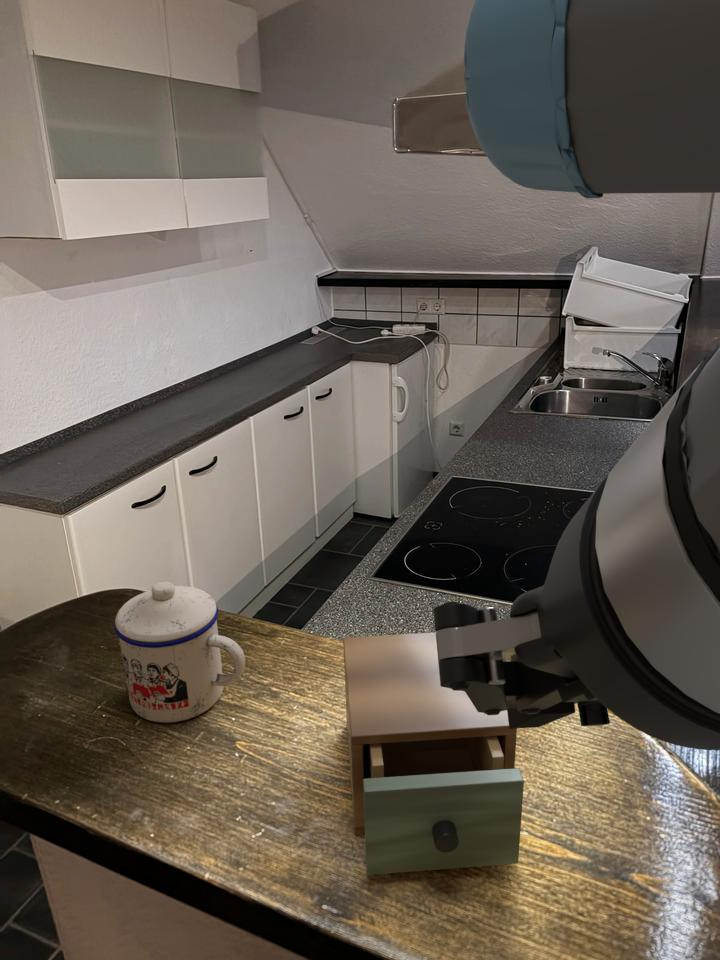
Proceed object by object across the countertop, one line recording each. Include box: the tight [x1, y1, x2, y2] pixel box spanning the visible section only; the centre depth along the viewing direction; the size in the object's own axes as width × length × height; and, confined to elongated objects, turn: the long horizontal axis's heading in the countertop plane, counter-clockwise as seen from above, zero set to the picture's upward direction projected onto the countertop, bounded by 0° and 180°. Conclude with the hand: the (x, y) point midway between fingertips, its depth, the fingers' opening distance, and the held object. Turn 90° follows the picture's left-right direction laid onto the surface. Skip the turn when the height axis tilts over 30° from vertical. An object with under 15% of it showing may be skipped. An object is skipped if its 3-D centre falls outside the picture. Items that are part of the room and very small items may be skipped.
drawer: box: [363, 736, 525, 876], centre depth 55 cm, size 12×10×7 cm
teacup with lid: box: [113, 580, 246, 724], centre depth 69 cm, size 12×9×12 cm
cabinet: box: [342, 631, 518, 837], centre depth 60 cm, size 12×12×9 cm
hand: (520, 700), depth 39 cm, fingers closed
